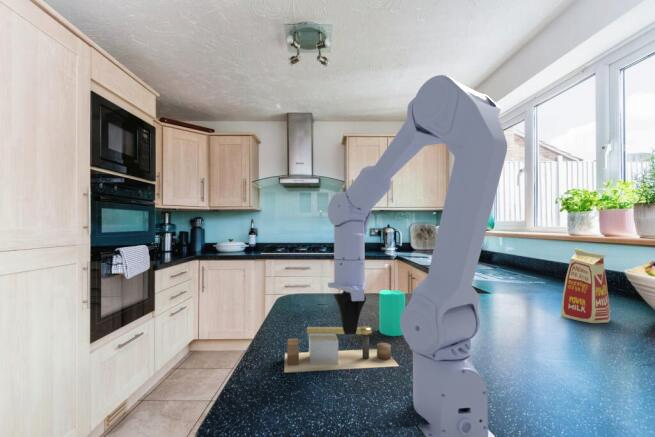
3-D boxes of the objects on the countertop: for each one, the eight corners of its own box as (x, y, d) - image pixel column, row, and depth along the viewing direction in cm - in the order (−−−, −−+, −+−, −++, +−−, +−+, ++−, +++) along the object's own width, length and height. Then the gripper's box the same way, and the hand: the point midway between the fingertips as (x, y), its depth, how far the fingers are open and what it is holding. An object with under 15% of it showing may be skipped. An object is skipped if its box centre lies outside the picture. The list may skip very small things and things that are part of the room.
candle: (406, 342, 68) (405, 288, 69) (379, 340, 69) (378, 287, 70) (404, 333, 74) (404, 283, 75) (379, 331, 75) (379, 283, 76)
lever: (372, 334, 56) (372, 329, 56) (306, 334, 56) (306, 329, 56) (370, 331, 58) (370, 326, 58) (307, 330, 58) (307, 326, 58)
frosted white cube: (338, 364, 54) (338, 340, 54) (310, 365, 53) (310, 341, 54) (334, 355, 58) (335, 332, 58) (308, 356, 57) (308, 333, 58)
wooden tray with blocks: (399, 372, 53) (399, 341, 54) (284, 379, 51) (284, 346, 51) (385, 354, 61) (384, 326, 61) (284, 359, 59) (285, 330, 59)
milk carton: (560, 316, 89) (558, 248, 90) (578, 313, 93) (576, 247, 94) (598, 325, 81) (596, 250, 82) (616, 320, 85) (613, 249, 86)
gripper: (323, 257, 64) (323, 323, 63) (334, 262, 49) (334, 348, 49) (356, 256, 65) (357, 321, 64) (376, 262, 50) (377, 346, 49)
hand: (349, 333), depth 56 cm, fingers closed, pressing on lever
